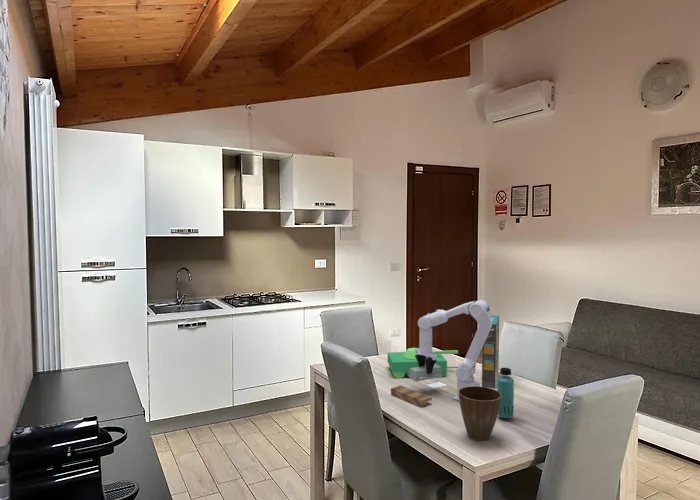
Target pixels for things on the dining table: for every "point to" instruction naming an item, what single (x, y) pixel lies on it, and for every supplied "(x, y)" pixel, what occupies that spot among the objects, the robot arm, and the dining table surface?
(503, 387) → the beverage bottle
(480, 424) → the plant pot
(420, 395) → the grooved board
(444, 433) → the dining table surface
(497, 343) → the cake mix box
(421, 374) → the tongue plank
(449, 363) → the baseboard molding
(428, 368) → the robot arm
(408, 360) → the toy tank
